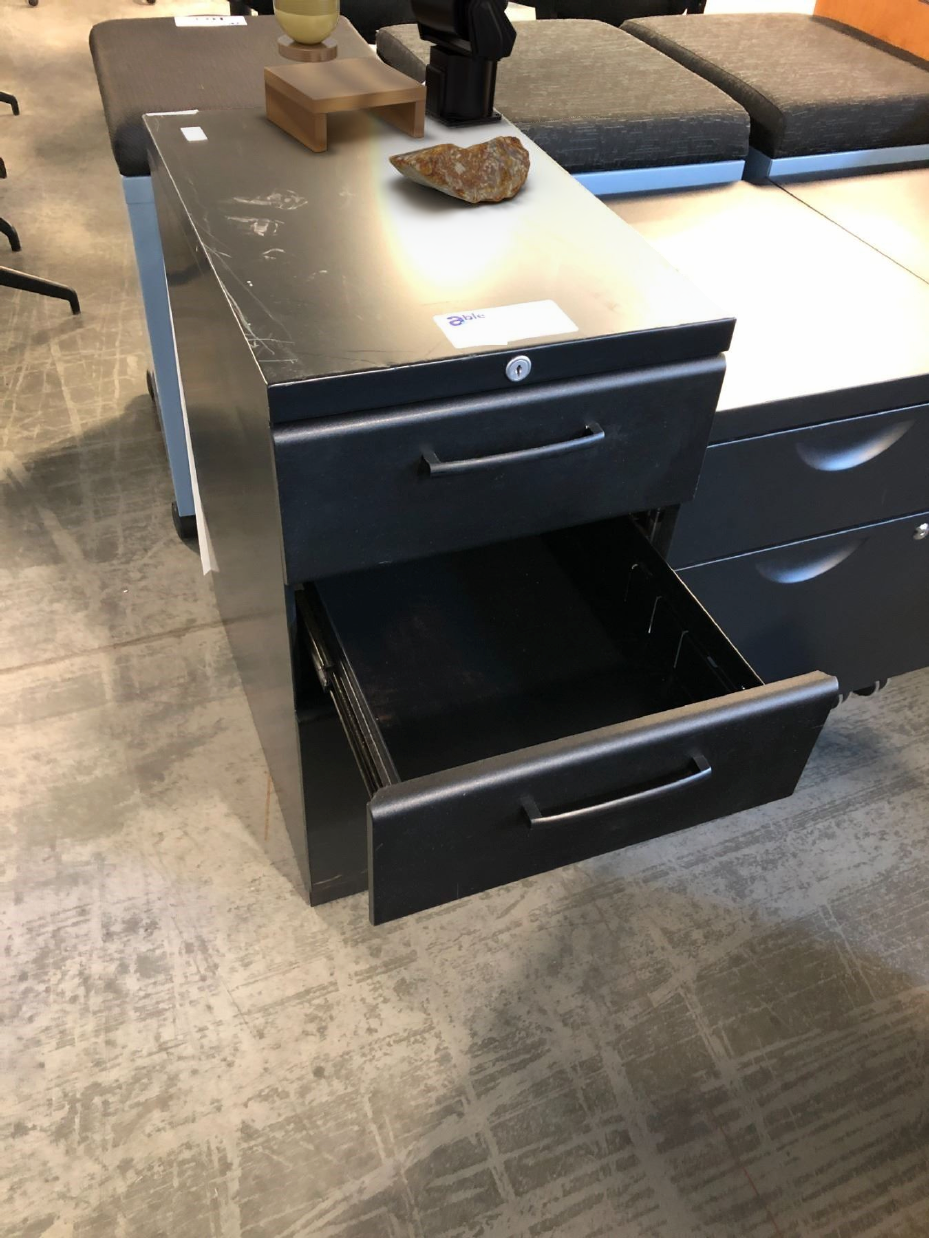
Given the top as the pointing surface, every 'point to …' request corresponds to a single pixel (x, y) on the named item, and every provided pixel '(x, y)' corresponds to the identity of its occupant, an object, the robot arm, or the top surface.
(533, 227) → the top surface
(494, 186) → the decorative stone
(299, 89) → the shelf
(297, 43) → the yellow capsule on stand
